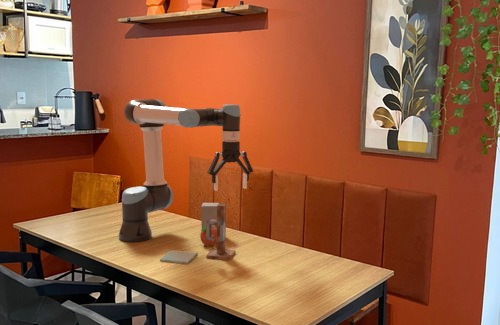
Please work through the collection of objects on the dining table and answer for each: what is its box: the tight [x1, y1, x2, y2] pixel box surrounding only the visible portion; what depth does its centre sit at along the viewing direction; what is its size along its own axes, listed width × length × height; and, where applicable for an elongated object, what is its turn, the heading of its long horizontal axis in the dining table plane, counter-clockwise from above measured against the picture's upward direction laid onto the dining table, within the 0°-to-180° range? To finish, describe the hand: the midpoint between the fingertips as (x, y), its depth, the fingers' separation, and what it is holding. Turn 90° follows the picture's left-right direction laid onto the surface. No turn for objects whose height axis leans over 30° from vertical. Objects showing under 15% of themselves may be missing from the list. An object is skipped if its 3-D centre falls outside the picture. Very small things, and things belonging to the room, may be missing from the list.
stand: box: [205, 203, 236, 261], centre depth 211 cm, size 10×18×22 cm, turn 167°
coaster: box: [159, 249, 198, 265], centre depth 212 cm, size 12×12×1 cm
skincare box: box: [200, 202, 220, 229], centre depth 243 cm, size 8×7×16 cm
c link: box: [206, 219, 225, 241], centre depth 206 cm, size 7×3×8 cm, turn 77°
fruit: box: [199, 227, 217, 247], centre depth 229 cm, size 9×10×10 cm
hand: (230, 189), depth 219 cm, fingers open, 13 cm apart
